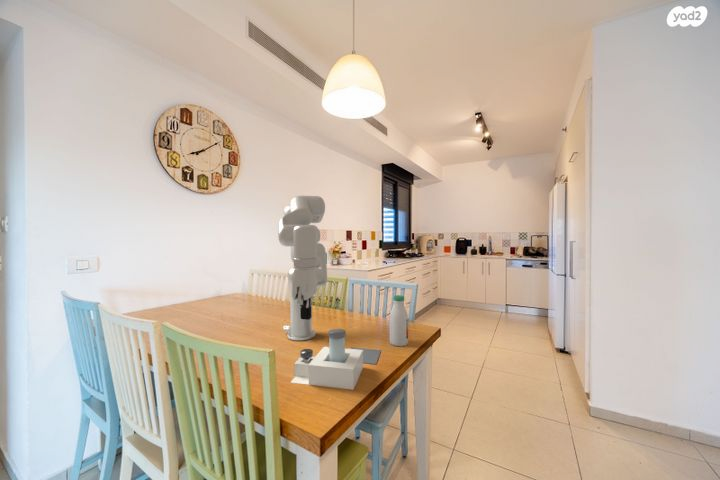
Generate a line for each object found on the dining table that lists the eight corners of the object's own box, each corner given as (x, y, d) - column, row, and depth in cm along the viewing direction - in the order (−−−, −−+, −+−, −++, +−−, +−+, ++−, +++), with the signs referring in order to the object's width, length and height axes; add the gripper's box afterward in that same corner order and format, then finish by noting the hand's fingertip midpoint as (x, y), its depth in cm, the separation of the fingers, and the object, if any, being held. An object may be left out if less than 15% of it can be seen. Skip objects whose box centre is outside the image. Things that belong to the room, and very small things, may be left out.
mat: (342, 364, 102) (342, 360, 102) (351, 350, 114) (351, 347, 114) (376, 367, 100) (376, 363, 100) (381, 352, 111) (381, 349, 111)
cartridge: (326, 378, 90) (325, 334, 90) (331, 370, 96) (331, 328, 95) (343, 380, 89) (343, 335, 89) (348, 372, 94) (347, 329, 94)
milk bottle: (403, 348, 116) (403, 299, 115) (386, 344, 120) (386, 296, 119) (410, 342, 122) (410, 295, 122) (394, 338, 126) (394, 293, 126)
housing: (288, 385, 88) (288, 362, 88) (306, 364, 102) (306, 345, 102) (353, 392, 84) (353, 369, 84) (363, 370, 98) (363, 349, 97)
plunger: (298, 373, 93) (298, 353, 93) (303, 367, 97) (303, 348, 97) (310, 374, 92) (309, 354, 92) (314, 368, 96) (314, 349, 96)
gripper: (303, 260, 102) (304, 311, 103) (284, 266, 87) (284, 325, 88) (324, 260, 100) (324, 312, 101) (307, 267, 85) (307, 327, 86)
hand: (306, 318), depth 95 cm, fingers closed
